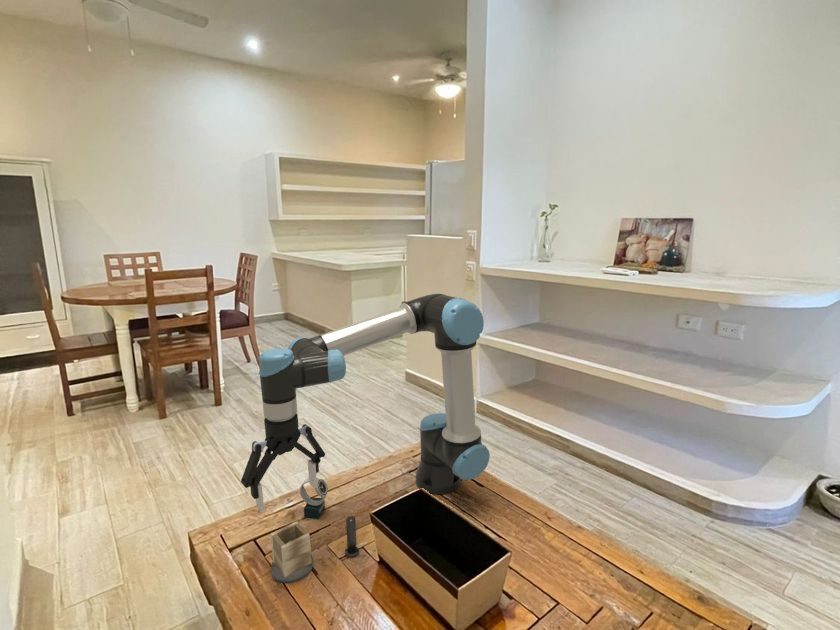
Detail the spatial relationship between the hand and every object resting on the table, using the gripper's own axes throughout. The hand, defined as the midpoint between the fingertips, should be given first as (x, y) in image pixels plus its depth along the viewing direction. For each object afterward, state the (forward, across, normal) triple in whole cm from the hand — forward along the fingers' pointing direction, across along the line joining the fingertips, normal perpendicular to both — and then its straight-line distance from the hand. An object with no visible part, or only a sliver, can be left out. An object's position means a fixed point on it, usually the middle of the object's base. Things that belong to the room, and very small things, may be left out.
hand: (287, 496), depth 107 cm
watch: (+20, -14, -16) cm, 29 cm away
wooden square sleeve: (+18, 0, 0) cm, 19 cm away
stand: (+20, -14, +6) cm, 25 cm away
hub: (+20, 0, 0) cm, 20 cm away
